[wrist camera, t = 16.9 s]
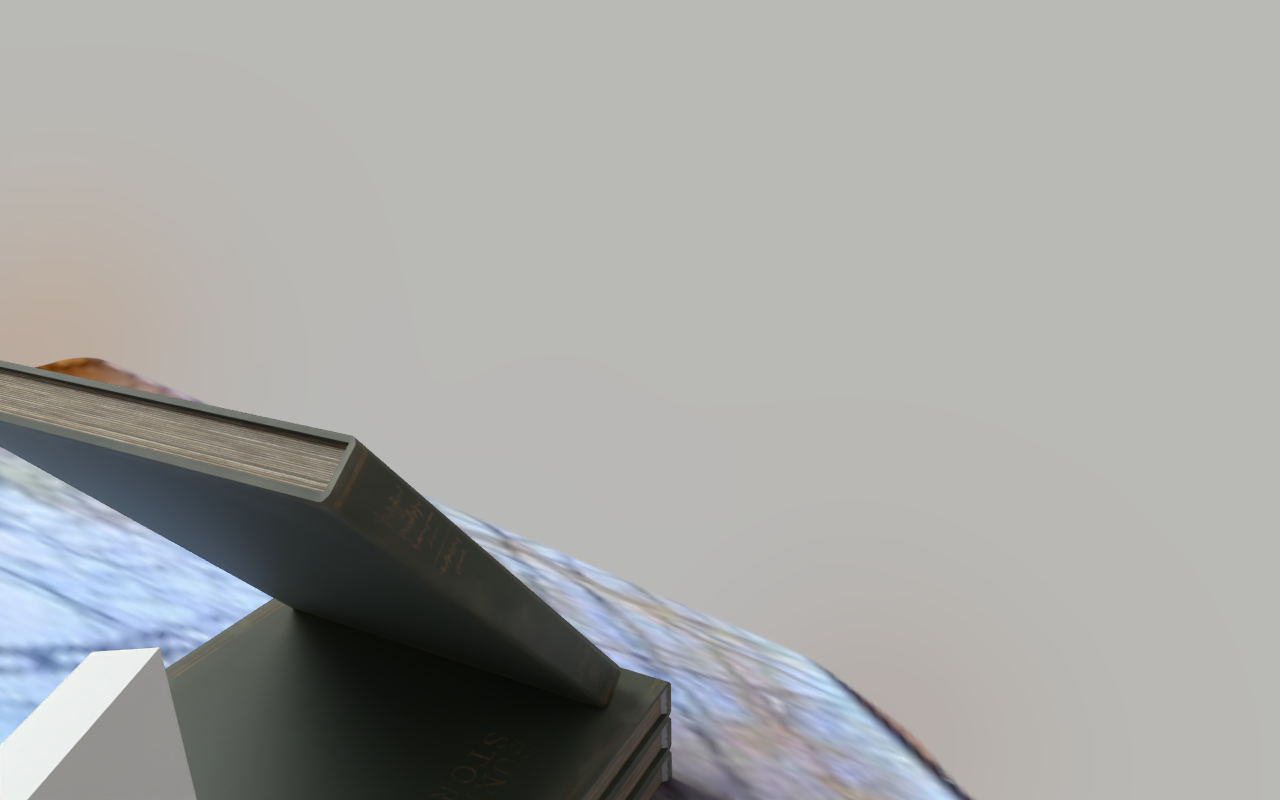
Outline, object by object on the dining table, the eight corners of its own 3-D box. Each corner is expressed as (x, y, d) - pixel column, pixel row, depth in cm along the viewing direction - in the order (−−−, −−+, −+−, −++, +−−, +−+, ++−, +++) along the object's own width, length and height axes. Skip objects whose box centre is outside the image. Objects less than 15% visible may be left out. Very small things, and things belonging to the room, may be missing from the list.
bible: (672, 782, 49) (668, 299, 40) (421, 1162, 33) (319, 496, 24) (329, 660, 59) (263, 251, 50) (7, 906, 43) (-177, 368, 34)
